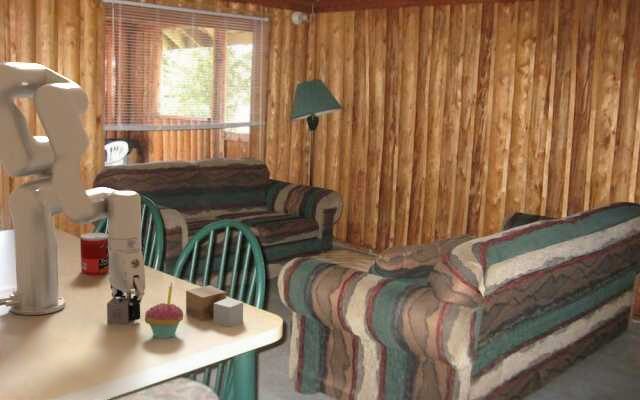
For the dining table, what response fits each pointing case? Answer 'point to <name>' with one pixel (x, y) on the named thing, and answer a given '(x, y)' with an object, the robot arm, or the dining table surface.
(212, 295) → the walnut block
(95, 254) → the canned food
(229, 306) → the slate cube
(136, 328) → the dining table surface
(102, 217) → the robot arm
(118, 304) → the dice cube
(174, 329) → the cupcake
